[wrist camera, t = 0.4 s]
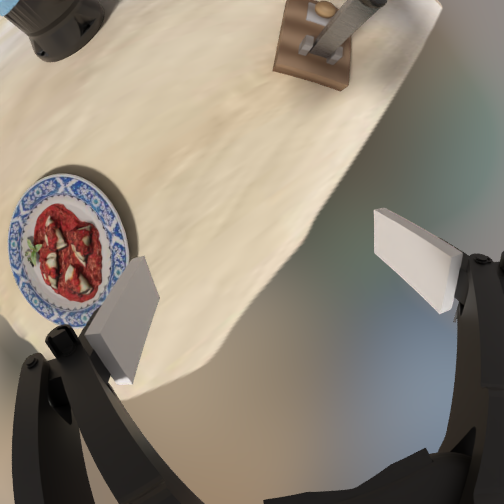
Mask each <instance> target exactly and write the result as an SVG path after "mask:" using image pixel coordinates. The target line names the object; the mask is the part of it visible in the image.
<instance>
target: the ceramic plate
mask: <svg viewBox="0 0 504 504" xmlns="http://www.w3.org/2000/svg"><path fill="white" fill-rule="evenodd" d="M8 253H9V261H10V266H11V270H12V273H13V276H14V278H15V281H16V283H17V285H18V288H19V289H20V291H21V293H22V294H23V296H24V297H25V299H26V300H27V301H28V303H29V304H30V305H31V306H32V307H33V309H34V310H36V311H37V312H38V313H39V314H40V315H41V316H43V317H44V318H46V319H47V320H49V321H51V322H52V323H55V324H57V325H59V326H60V325H63V324H69V325H70V326H71V327H72V328H75V329H79V328H84V327H85V326H86V323H87V322H88V320H89V318H90V317H91V315H92V314H93V312H94V311H95V310H96V309H97V308H98V307H99V306H101V305H102V304H103V302H104V301H105V299H106V298H107V296H108V294H109V293H110V291H111V290H112V288H113V287H114V285H115V284H116V282H117V280H118V279H119V277H120V276H121V274H122V273H123V271H124V270H125V268H126V267H127V266H128V264H129V249H128V241H127V237H126V233H125V230H124V227H123V224H122V221H121V219H120V217H119V215H118V213H117V211H116V209H115V207H114V206H113V204H112V203H111V201H110V200H109V199H108V197H107V196H106V195H105V194H104V193H103V192H102V191H101V190H100V189H99V188H98V187H97V186H96V185H94V184H93V183H91V182H90V181H88V180H86V179H84V178H82V177H79V176H76V175H72V174H65V173H64V174H53V175H50V176H47V177H44V178H42V179H40V180H39V181H37V182H36V183H34V184H33V185H32V186H30V187H29V188H28V189H27V191H26V192H25V193H24V194H23V196H22V197H21V198H20V200H19V201H18V203H17V205H16V208H15V210H14V212H13V215H12V218H11V222H10V227H9V233H8Z"/></svg>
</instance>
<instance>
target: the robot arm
mask: <svg viewBox="0 0 504 504" xmlns="http://www.w3.org/2000/svg"><path fill="white" fill-rule="evenodd" d="M0 15H1V16H4V17H5V18H7V19H8V20H9V21H10V22H12V23H13V24H14V25H15V26H17V27H18V28H19V29H20V30H22V31H23V32H24V33H25V34H27V35H28V36H29V39H30V41H31V44H32V47H33V50H34V52H35V54H36V55H37V56H38V57H39V58H40V59H42V60H43V61H46V62H55V61H59V60H62V59H64V58H66V57H68V56H70V55H72V54H73V53H75V52H76V51H78V50H79V49H80V48H82V47H83V46H84V45H85V44H86V43H87V42H88V41H89V40H90V39H91V38H92V37H93V36H94V35H95V33H96V32H97V31H98V29H99V28H100V26H101V24H102V21H103V18H104V11H103V8H102V7H101V5H100V3H99V2H98V1H97V0H0ZM374 236H375V239H374V243H375V244H374V253H375V254H376V255H377V256H379V257H380V258H381V259H382V260H383V261H384V262H385V263H386V264H387V265H389V266H390V267H391V268H392V269H393V270H394V271H395V272H396V273H398V274H399V275H400V276H401V277H402V278H403V279H404V280H405V281H406V282H407V283H409V285H411V287H413V288H414V289H415V290H416V291H417V292H418V293H419V294H420V295H421V296H422V297H423V298H424V299H425V300H426V301H427V302H428V303H429V304H430V305H431V306H432V307H433V308H434V309H435V310H436V311H437V312H438V313H439V314H441V313H443V312H445V311H448V310H450V309H451V308H452V304H453V300H454V297H455V298H456V299H457V300H458V301H459V304H458V307H457V311H456V315H455V318H454V321H453V322H456V319H457V321H458V322H457V323H458V324H457V326H458V330H457V331H458V332H457V359H456V372H455V382H454V392H453V398H452V405H451V411H450V417H449V422H448V427H447V431H446V435H445V438H444V441H443V442H442V444H441V446H440V448H439V451H438V453H432V454H429V453H428V451H427V449H426V448H424V449H422V450H420V451H418V452H416V453H414V454H412V455H410V456H408V457H407V458H404V459H402V460H400V461H398V462H395V463H393V464H391V465H390V466H388V467H387V468H385V469H384V470H383V471H381V472H380V473H378V474H377V475H376V476H374V477H373V478H371V479H369V480H368V481H366V482H365V483H363V484H361V485H360V486H358V487H356V488H354V489H349V490H339V491H325V492H305V493H301V494H296V495H291V496H285V497H279V498H273V499H266V500H263V501H264V504H504V252H502V254H501V260H500V262H493V261H492V259H490V258H489V257H488V256H485V255H482V254H472V255H470V256H468V255H467V254H465V253H464V252H462V251H461V250H459V249H458V248H456V247H453V245H451V244H449V243H448V242H446V241H445V240H443V239H441V238H439V237H436V236H435V235H433V234H431V233H430V232H428V231H426V230H425V229H423V228H421V227H419V226H418V225H416V224H414V223H412V222H410V221H409V220H407V219H405V218H403V217H401V216H399V215H398V214H396V213H394V212H392V211H390V210H388V209H386V208H381V209H375V210H374ZM159 299H160V297H159V294H158V292H157V289H156V287H155V284H154V281H153V279H152V276H151V273H150V271H149V268H148V265H147V262H146V259H145V257H144V256H141V257H137V258H132V260H131V261H130V263H129V264H128V266H127V267H126V268H125V270H124V271H123V273H122V274H121V276H120V277H119V279H118V280H117V282H116V284H115V285H114V287H113V288H112V290H111V291H110V293H109V294H108V296H107V298H106V299H105V301H104V302H103V304H102V305H101V306H99V307H98V308H97V309H96V310H95V311H94V312H93V314H92V315H91V317H90V318H89V320H88V322H87V323H86V326H85V327H84V328H83V330H82V332H81V334H80V335H79V337H77V335H76V334H75V332H74V330H73V328H72V327H71V326H70V325H69V324H63V325H60V326H58V327H56V328H54V329H53V330H52V331H51V332H50V333H49V334H48V335H47V337H46V340H45V342H46V344H47V345H48V347H49V348H50V350H51V351H52V353H53V354H54V356H55V357H56V359H52V360H49V361H46V359H45V358H44V356H43V355H42V354H41V353H35V354H33V355H30V356H29V357H28V358H26V360H25V362H24V363H23V365H22V368H21V373H20V378H19V384H18V390H17V396H16V404H15V412H14V422H13V436H12V478H13V491H14V500H15V504H95V502H94V499H93V495H92V491H91V488H90V484H89V480H88V476H87V471H86V467H85V462H84V457H83V452H82V445H81V439H80V433H79V429H80V431H81V433H82V436H83V438H84V440H85V443H86V445H87V447H88V449H89V451H90V453H91V455H92V457H93V459H94V461H95V463H96V465H97V467H98V469H99V471H100V473H101V475H102V476H103V478H104V480H105V481H106V483H107V485H108V487H109V488H110V490H111V492H112V493H113V495H114V497H115V498H116V500H117V501H118V503H119V504H204V503H203V502H202V501H201V500H200V499H199V498H198V497H197V496H196V495H195V494H194V493H193V492H192V491H191V490H190V489H189V488H188V487H187V486H186V485H185V484H184V483H183V482H182V481H181V480H180V479H179V478H178V476H177V475H176V474H175V473H174V472H173V471H172V470H171V469H170V467H169V466H168V465H167V464H166V463H165V462H164V461H163V459H162V458H161V457H160V456H159V454H158V453H157V452H156V451H155V450H154V448H153V447H152V446H151V444H150V443H149V442H148V440H147V439H146V438H145V437H144V435H143V434H142V432H141V431H140V429H139V428H138V427H137V425H136V424H135V422H134V421H133V420H132V418H131V417H130V415H129V414H128V412H127V411H126V409H125V408H124V406H123V404H122V403H121V401H120V400H119V398H118V397H117V395H116V393H115V392H114V390H113V388H112V387H111V385H110V384H109V383H108V381H109V378H110V375H111V377H112V378H113V379H114V381H115V382H116V383H117V385H122V384H133V381H134V377H135V374H136V370H137V367H138V364H139V360H140V357H141V354H142V350H143V347H144V344H145V341H146V337H147V334H148V331H149V328H150V325H151V322H152V319H153V316H154V313H155V310H156V307H157V305H158V302H159Z"/></svg>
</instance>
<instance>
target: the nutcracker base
mask: <svg viewBox="0 0 504 504" xmlns="http://www.w3.org/2000/svg"><path fill="white" fill-rule="evenodd" d="M338 10H339V9H337V8H335V7H334V5H333V4H332V3H330V2H327V1H321V2H317V1H314V0H287V1H286V5H285V10H284V15H283V20H282V25H281V30H280V35H279V40H278V45H277V51H276V56H275V61H274V66H273V71H275V72H279V73H283V74H287V75H291V76H294V77H298V78H301V79H305V80H308V81H311V82H315V83H318V84H321V85H324V86H327V87H330V88H333V89H335V90H338V91H342V90H343V89H344V88H346V87H347V86H348V85H349V71H350V53H351V35H350V36H349V37H348V38H347V39H346V40H345V41H344V42H343V43H342V44H341V45H340V46H339V47H338V48H337V49H336V50H335V51H334V52H333V53H332V54H331V55H330V56H329V57H328V58H327V59H326V58H323V57H321V56H318V55H314V54H311V53H309V52H310V49H311V48H312V47H313V42H314V40H315V39H316V38H317V36H318V35H319V34H320V32H321V31H322V30H323V29H324V27H325V26H326V25H327V24H328V22H329V21H330V20H331V19H332V17H333V16H334V15H335V14H336V13H337V11H338Z"/></svg>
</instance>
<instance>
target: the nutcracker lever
mask: <svg viewBox="0 0 504 504" xmlns="http://www.w3.org/2000/svg"><path fill="white" fill-rule="evenodd" d="M386 3H387V0H347V1H346V2H345V3H344V4H343V5H342V7H341V8H340V9H339V10H338V11H337V13H336V14H335V15H334V16H333V17H332V19H331V20H330V21H329V22H328V24H327V25H326V26H325V27H324V29H323V30H322V31H321V32H320V34H319V35H318V36H317V38H316V39H315V40H314V42H313V47H312V48H311V49H310V52H309V53H311V54H314V55H318V56H321V57H323V58H326V59H327V58H328V57H329V56H330V55H331V54H332V53H333V52H334V51H335V50H336V49H337V48H338V47H339V46H340V45H341V44H342V43H343V42H344V41H345V40H346V39H347V38H348V37H349V36H350V35H352V34H353V33H354V32H355V31H356V30H357V29H358V28H359V27H360V26H361V25H362V24H363V23H364V22H365V21H366V20H367V19H369V18H370V17H371V16H372V15H373V14H374V13H375V12H376V11H377V10H379V9H380V8H381V7H383V6H384V5H385V4H386Z"/></svg>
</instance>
